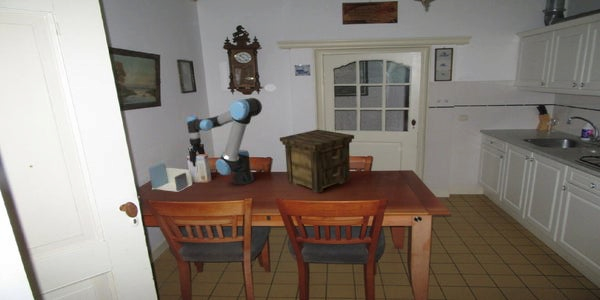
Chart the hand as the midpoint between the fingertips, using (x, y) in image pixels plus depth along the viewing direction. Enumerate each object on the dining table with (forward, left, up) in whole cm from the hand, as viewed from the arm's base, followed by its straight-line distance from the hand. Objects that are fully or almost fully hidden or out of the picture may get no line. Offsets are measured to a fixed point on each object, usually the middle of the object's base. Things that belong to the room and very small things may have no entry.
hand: (199, 168), depth 222 cm
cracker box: (0, 0, -11) cm, 11 cm away
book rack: (+13, +15, -10) cm, 22 cm away
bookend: (+2, +16, -9) cm, 19 cm away
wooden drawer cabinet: (-84, -21, -11) cm, 87 cm away
